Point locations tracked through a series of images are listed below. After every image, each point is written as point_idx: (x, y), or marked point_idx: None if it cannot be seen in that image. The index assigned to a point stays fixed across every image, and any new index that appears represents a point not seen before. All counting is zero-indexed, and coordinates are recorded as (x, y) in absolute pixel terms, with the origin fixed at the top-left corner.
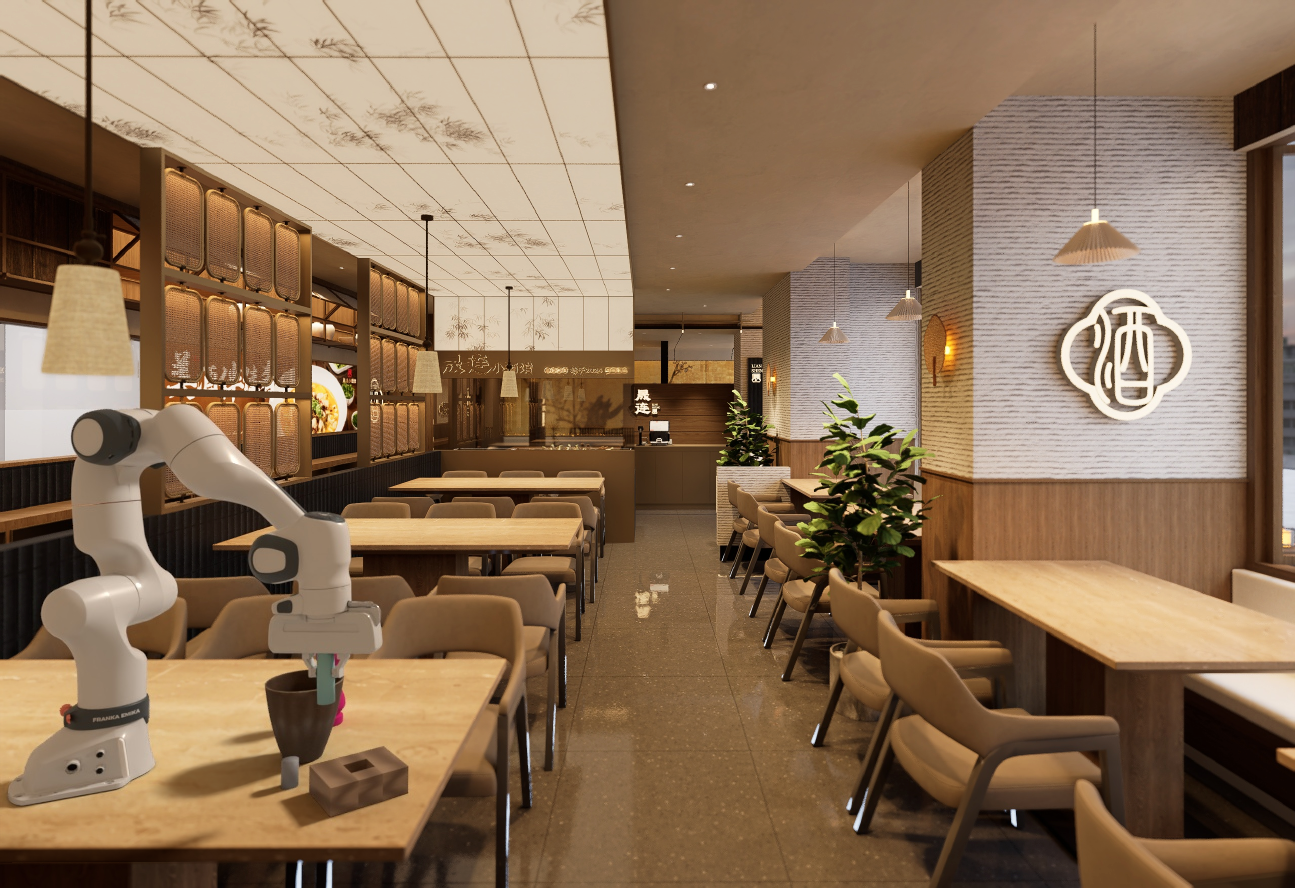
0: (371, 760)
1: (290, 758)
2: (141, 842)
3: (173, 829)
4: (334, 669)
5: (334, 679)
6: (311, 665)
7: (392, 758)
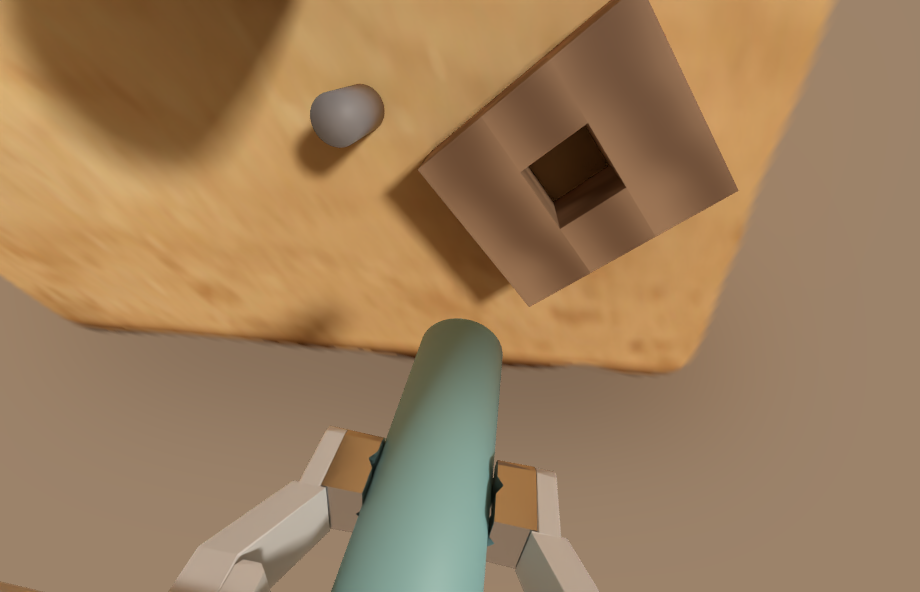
0: (608, 138)
1: (331, 110)
2: (239, 325)
3: (254, 292)
4: (504, 557)
5: (494, 449)
6: (314, 539)
7: (682, 123)
